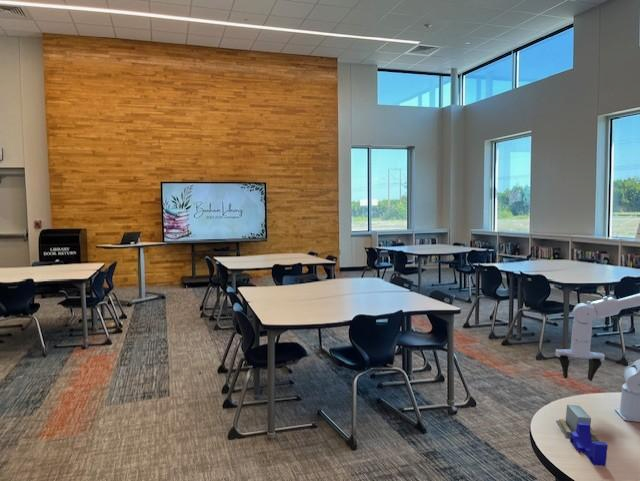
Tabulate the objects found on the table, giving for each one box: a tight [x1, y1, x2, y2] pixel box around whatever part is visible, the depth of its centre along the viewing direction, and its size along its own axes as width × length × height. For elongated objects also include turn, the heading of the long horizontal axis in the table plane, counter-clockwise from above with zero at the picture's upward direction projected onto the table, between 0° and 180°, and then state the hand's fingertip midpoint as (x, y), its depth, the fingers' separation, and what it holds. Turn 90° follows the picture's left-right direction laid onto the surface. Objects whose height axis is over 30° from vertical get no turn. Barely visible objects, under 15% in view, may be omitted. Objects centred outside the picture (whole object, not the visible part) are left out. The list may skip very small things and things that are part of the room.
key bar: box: [565, 404, 592, 432], centre depth 142 cm, size 8×4×6 cm, turn 174°
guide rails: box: [558, 418, 598, 439], centre depth 142 cm, size 8×8×1 cm
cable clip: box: [569, 422, 609, 467], centre depth 131 cm, size 12×4×6 cm, turn 172°
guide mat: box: [555, 419, 600, 442], centre depth 143 cm, size 9×10×1 cm
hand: (577, 378), depth 159 cm, fingers open, 7 cm apart
